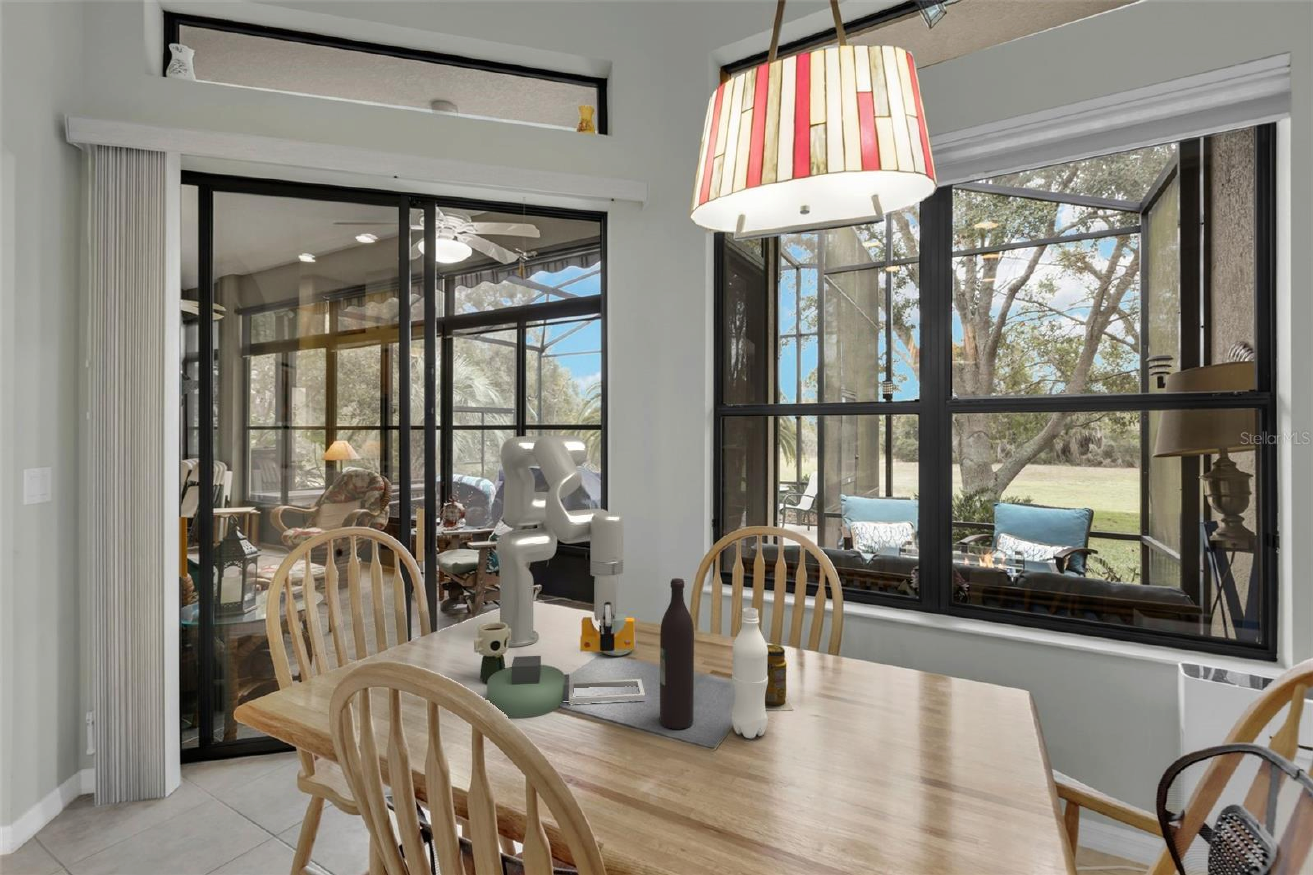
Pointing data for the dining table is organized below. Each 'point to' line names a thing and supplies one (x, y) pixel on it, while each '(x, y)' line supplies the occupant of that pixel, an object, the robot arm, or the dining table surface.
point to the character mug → (492, 647)
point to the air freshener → (618, 627)
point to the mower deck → (544, 689)
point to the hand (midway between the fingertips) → (606, 645)
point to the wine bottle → (677, 662)
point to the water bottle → (749, 677)
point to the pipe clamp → (592, 636)
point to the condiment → (776, 680)
